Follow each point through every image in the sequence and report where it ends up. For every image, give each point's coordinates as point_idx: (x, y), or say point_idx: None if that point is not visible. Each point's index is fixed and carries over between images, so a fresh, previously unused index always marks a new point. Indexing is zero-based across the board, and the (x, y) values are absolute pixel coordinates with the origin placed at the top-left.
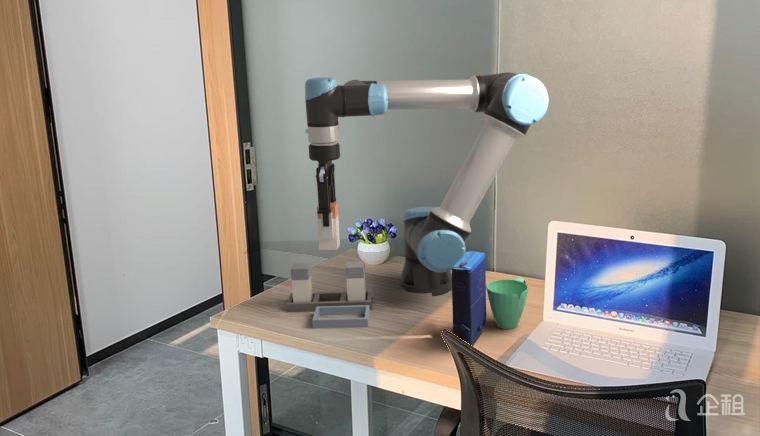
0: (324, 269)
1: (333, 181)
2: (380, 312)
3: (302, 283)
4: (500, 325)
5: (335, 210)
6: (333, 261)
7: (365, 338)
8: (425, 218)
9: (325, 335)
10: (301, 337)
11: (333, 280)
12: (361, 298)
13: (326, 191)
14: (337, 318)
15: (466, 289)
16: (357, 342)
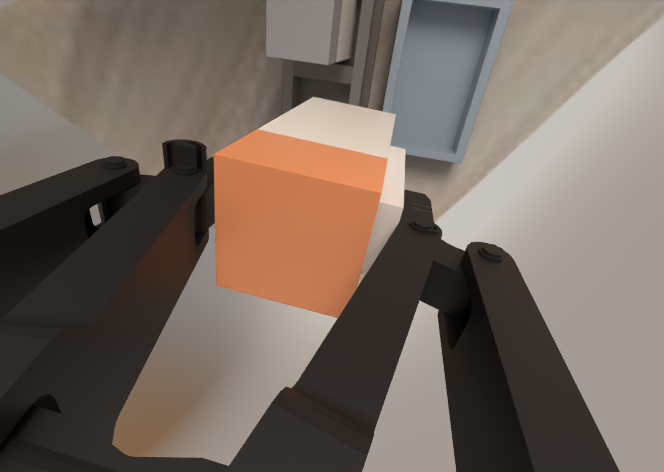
0: (83, 110)
1: (61, 333)
2: None
3: None
4: None
5: (369, 176)
6: (25, 83)
7: (555, 13)
8: None
9: (487, 126)
10: (476, 180)
11: (150, 89)
12: (352, 11)
13: (596, 462)
14: (473, 96)
15: None
16: (570, 40)
